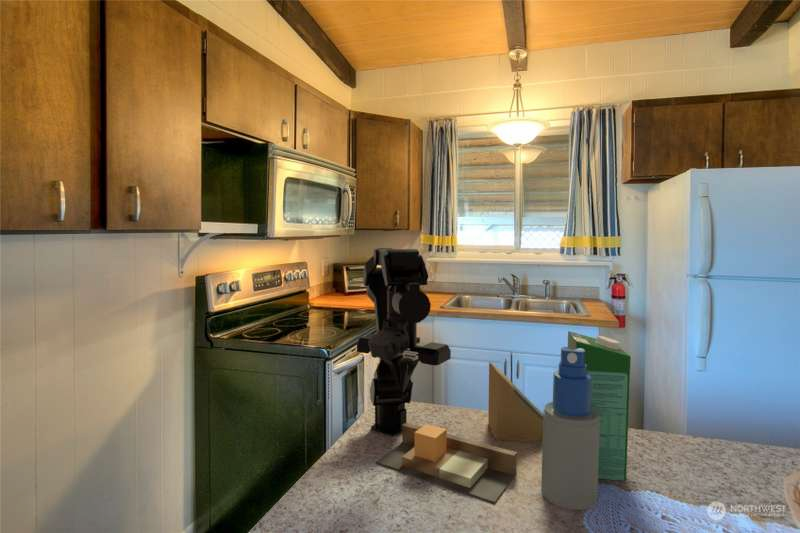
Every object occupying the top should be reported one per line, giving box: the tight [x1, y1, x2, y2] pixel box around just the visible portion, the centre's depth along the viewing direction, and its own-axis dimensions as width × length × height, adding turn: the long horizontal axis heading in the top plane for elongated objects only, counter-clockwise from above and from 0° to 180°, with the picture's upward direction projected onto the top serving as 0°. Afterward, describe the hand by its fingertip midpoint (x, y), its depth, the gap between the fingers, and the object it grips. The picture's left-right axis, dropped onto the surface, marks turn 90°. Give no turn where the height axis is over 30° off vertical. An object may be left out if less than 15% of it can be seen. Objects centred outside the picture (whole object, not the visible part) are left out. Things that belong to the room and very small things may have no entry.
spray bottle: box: [540, 346, 600, 511], centre depth 74 cm, size 9×9×25 cm
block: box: [415, 423, 448, 462], centre depth 85 cm, size 4×4×4 cm
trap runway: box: [375, 422, 518, 504], centre depth 83 cm, size 24×11×4 cm, turn 57°
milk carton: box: [567, 330, 632, 482], centre depth 83 cm, size 9×9×25 cm
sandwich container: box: [487, 361, 543, 441], centre depth 99 cm, size 9×15×15 cm, turn 91°
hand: (402, 391), depth 88 cm, fingers closed
